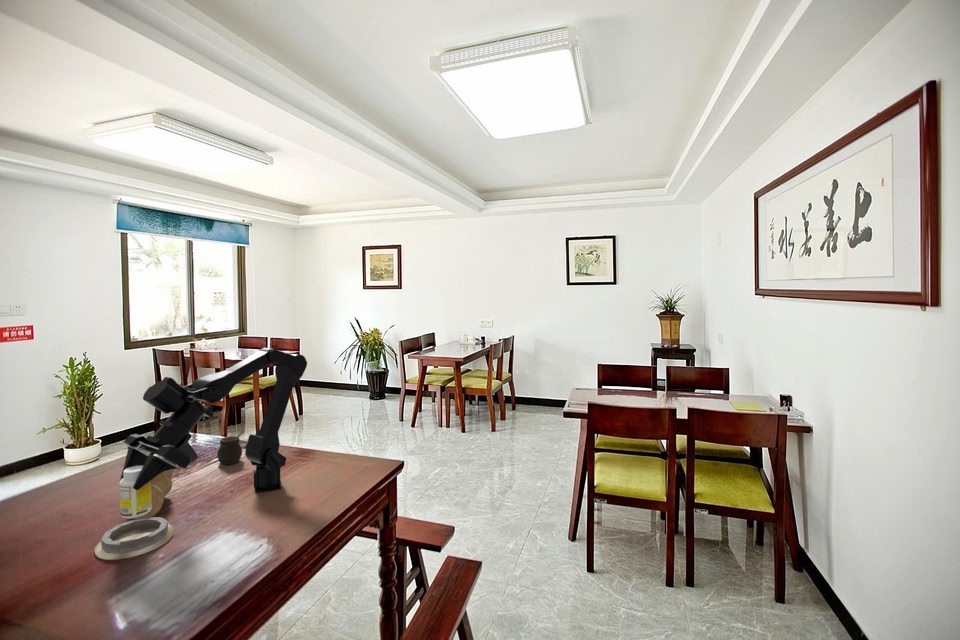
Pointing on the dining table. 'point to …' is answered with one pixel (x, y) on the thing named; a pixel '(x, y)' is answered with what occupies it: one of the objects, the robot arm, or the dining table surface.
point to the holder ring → (134, 538)
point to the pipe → (159, 492)
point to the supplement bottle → (134, 494)
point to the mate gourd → (229, 450)
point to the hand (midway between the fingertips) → (128, 486)
